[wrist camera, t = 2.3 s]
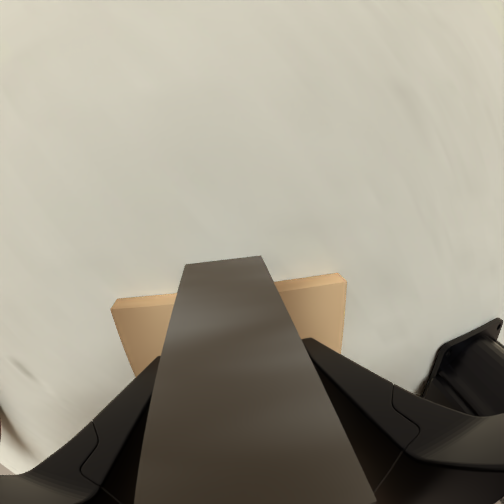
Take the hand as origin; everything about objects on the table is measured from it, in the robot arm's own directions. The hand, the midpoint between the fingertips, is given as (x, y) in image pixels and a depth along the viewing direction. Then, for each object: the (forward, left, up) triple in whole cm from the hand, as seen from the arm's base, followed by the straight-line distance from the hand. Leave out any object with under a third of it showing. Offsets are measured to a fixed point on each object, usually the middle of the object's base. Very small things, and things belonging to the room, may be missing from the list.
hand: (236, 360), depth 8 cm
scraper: (0, +9, -2) cm, 9 cm away
